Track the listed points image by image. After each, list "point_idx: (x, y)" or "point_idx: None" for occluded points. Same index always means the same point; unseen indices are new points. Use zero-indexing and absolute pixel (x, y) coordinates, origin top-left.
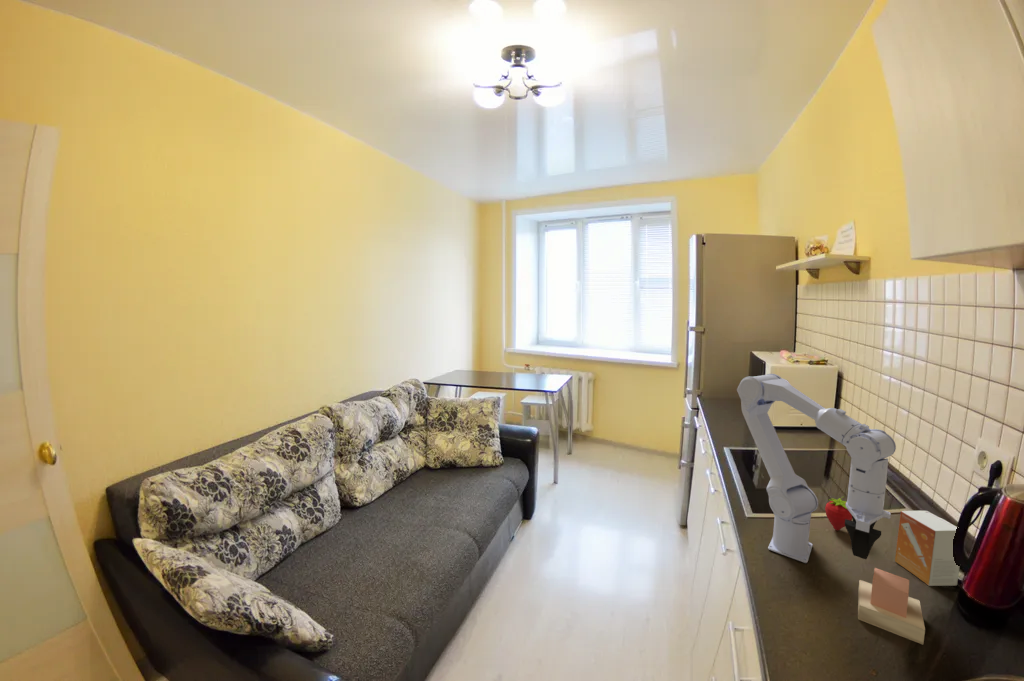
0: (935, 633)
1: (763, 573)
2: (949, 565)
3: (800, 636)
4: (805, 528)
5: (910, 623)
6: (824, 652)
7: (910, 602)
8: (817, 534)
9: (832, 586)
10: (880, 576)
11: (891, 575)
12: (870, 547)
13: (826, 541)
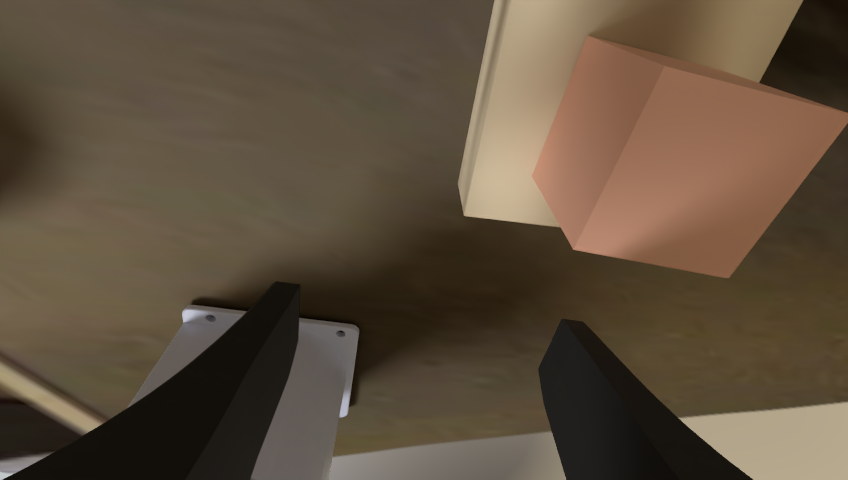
0: None
1: (499, 414)
2: None
3: (773, 348)
4: (290, 462)
5: (762, 59)
6: (832, 305)
7: (566, 10)
8: (52, 279)
9: (463, 260)
10: (671, 236)
11: (637, 174)
12: (671, 414)
13: (87, 252)
